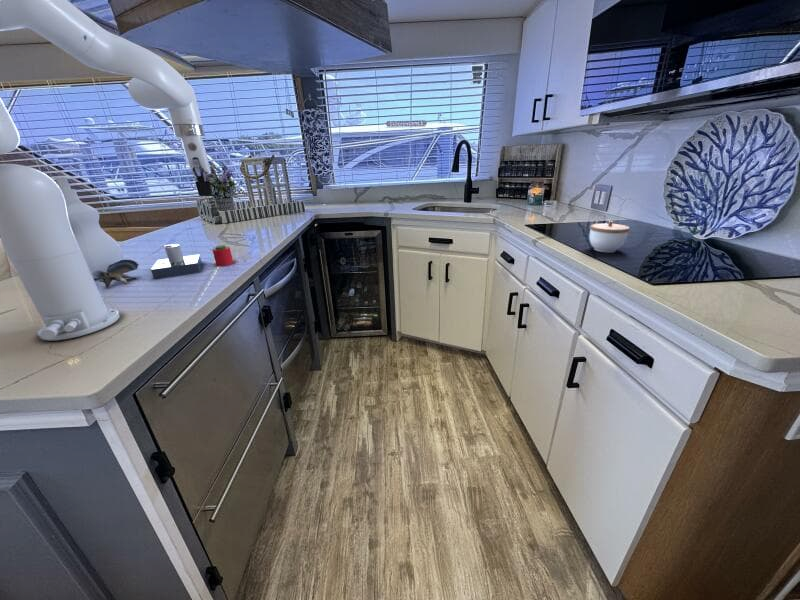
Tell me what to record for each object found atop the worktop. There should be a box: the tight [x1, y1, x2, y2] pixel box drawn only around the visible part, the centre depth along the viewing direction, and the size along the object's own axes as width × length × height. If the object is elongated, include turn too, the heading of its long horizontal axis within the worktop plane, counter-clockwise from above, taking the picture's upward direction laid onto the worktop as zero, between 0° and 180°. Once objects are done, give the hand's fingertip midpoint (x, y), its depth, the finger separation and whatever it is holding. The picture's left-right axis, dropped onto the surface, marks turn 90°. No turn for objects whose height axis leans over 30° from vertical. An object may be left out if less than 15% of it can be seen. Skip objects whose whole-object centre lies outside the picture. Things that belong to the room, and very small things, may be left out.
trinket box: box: [588, 220, 631, 253], centre depth 104 cm, size 11×11×9 cm
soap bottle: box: [50, 175, 124, 280], centre depth 96 cm, size 17×12×29 cm
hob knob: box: [163, 243, 184, 263], centre depth 101 cm, size 4×4×5 cm
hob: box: [150, 254, 203, 280], centre depth 102 cm, size 12×12×3 cm
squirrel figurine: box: [93, 259, 139, 289], centre depth 92 cm, size 8×7×9 cm
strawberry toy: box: [211, 244, 234, 267], centre depth 107 cm, size 5×5×6 cm
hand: (206, 194), depth 99 cm, fingers open, 9 cm apart
